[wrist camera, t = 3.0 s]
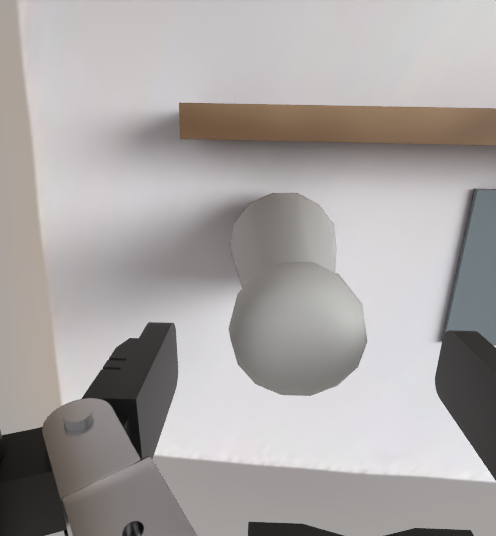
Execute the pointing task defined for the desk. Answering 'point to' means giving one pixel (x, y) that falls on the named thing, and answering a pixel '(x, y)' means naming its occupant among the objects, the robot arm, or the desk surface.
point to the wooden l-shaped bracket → (338, 123)
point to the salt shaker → (292, 299)
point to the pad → (476, 272)
